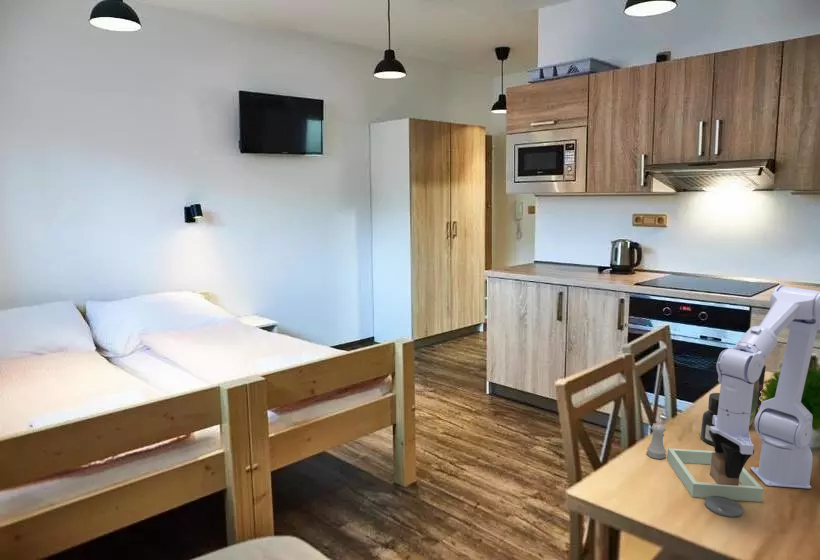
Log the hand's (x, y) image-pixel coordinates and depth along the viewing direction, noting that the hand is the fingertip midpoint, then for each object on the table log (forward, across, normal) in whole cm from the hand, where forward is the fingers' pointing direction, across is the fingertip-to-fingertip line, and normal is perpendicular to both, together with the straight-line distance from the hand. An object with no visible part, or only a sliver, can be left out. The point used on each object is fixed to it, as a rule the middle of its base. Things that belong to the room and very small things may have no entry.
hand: (727, 471), depth 118 cm
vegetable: (+8, -44, +22) cm, 50 cm away
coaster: (+8, 0, 0) cm, 8 cm away
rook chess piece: (+8, -22, -7) cm, 25 cm away
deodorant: (+8, -54, +28) cm, 62 cm away
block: (+2, 0, 0) cm, 2 cm away
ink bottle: (+8, -34, +12) cm, 37 cm away
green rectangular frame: (+8, -12, +2) cm, 15 cm away
